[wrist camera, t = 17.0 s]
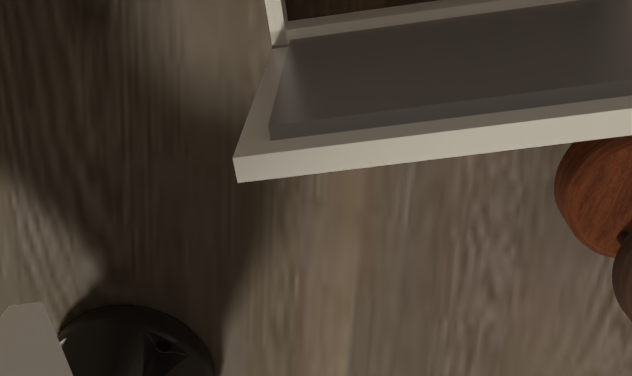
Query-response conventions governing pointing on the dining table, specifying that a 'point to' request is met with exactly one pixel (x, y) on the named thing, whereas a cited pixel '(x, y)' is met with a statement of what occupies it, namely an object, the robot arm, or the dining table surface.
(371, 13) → the case
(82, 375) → the robot arm
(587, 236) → the music box
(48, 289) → the dining table surface
